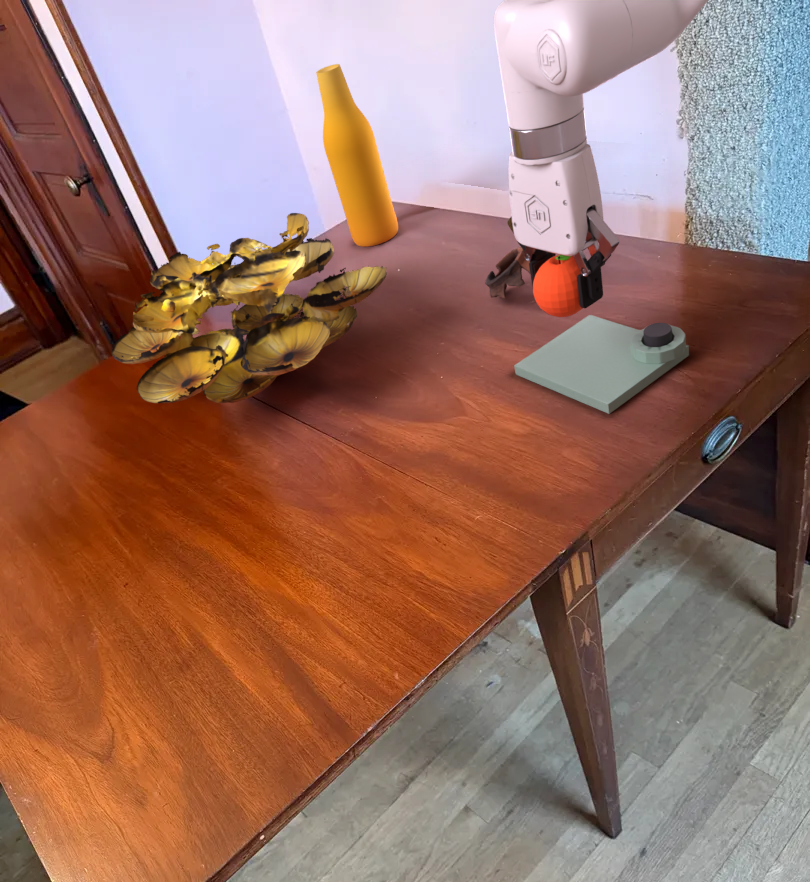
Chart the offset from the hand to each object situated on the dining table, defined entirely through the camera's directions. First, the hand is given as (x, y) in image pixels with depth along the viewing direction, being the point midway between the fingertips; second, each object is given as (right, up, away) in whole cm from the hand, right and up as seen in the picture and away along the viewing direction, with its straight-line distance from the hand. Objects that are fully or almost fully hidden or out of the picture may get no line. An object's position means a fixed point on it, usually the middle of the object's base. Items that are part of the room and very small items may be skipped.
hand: (567, 294), depth 88 cm
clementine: (+1, -2, +2) cm, 2 cm away
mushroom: (-40, -2, +29) cm, 50 cm away
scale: (+5, -7, +6) cm, 11 cm away
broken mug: (0, +8, +24) cm, 25 cm away
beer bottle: (-25, +30, +56) cm, 68 cm away
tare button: (+11, -5, +2) cm, 13 cm away
